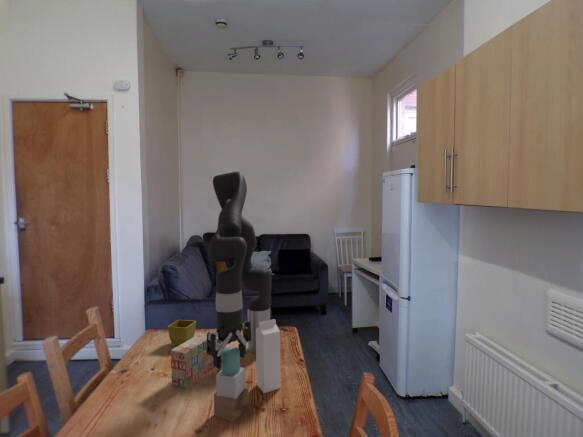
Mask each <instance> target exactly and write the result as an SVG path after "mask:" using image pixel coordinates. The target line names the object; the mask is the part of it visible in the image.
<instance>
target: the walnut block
mask: <svg viewBox="0 0 583 437" xmlns="http://www.w3.org/2000/svg"><path fill="white" fill-rule="evenodd" d="M249 396H250V392H249V389H248V388H246V387H245V389H244V390H243V391H242V392H241V394H240V395H239V396H238V397H237V398H236V399H233V398H227V397H222V396H217V391H216V392H215V393H214V394H213V411H214V412H213V414H214V415H215V416H217V417H220V418H222V419H224V420H227V421H228V422H231V423H234V422H235V421H237V419H239V418H241V416H243V415H244V414H246V412H248V411H249V410H250V402H249V400H250V397H249Z"/></svg>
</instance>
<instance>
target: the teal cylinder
mask: <svg viewBox="0 0 583 437" xmlns="http://www.w3.org/2000/svg"><path fill="white" fill-rule="evenodd" d="M240 358H241V357H240V350H239V349H238V347H236V346H232V347H225V348H224V349H223V351H222V363H221V364H222V368H221V370H222V373H223V374H224V375H227V376H232V375H236V374H238V373H239V372H240V367H241V366H240V362H241V361H240V360H241V359H240Z"/></svg>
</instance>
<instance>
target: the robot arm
mask: <svg viewBox="0 0 583 437" xmlns="http://www.w3.org/2000/svg"><path fill="white" fill-rule="evenodd" d="M212 186H213V191H214V193H215V195H216V199H217V201H218V203H219V206H220V208H221V210H220V212H219V215H218V220H217V228H216V230H215V232H214V234H213V237H212V238H211V239H210V243H209V245H208V256H209V257H210V258H209V259H210V260H212V261H213V262H215V263H234V264H233V265H232V266H231V267H229V268H226V269H221V270H219V271H217V273H216V275H215V277H216V278H215V286H216V287H215V288H216V293H215V324H216V326H217V328H216V331H213V332H210V331H209V332H207V333H206V338H207V351H206V353H207V354H209V355H211V356H213V362H214V363H213V364H214V366H215V368H216V369H217V370H220V369H222V363H221V353H222V351H223V349H225V348H227V345H229V344H231V343H232V342H233V343H235V342H238V344H237V345H238V347H237V348H238V349H239V350H240V358H241V359H244V358H246V355H247V350H248V352H249V353H252V354H255V355H256V329H257V328H258V327H259V323H260V322H263V321H268V320H271V300H272V274H271V272H270V269H269V270H268V269H265V268H264V269H263V268H254V267H253V265H252V257H253V254H254V253H255V250H256V246H257V244H258V240H257V236H256V232H255V229H254V226H253V224H252V223H251V222H250V221H249V220H248V219H247V218H246V217H244V216H243V215H242V213H243V209H244V206H245V201H246V197H247V192H248V191H247V190H248V188H247V186H248V185H247V180H246V178H245V175H244V174H243V173H242V172H241V171H232V172H227V173H221V174H218V175H215V176H214V177H213V178H212ZM242 285H243V287H244V289H245V290H246V291H250V292H257V293H258V297H255V298H251V299H249V300H248V302H247V320H245V319H244V316H243V314H244V312H243V310H244V309H243V293H242ZM241 332H242V333H241ZM217 337H218V338H217ZM221 341H222V342H223V343H222V344H220V342H221ZM247 346H248V347H247ZM218 348H219V349H218ZM217 350H218V351H217Z"/></svg>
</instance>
